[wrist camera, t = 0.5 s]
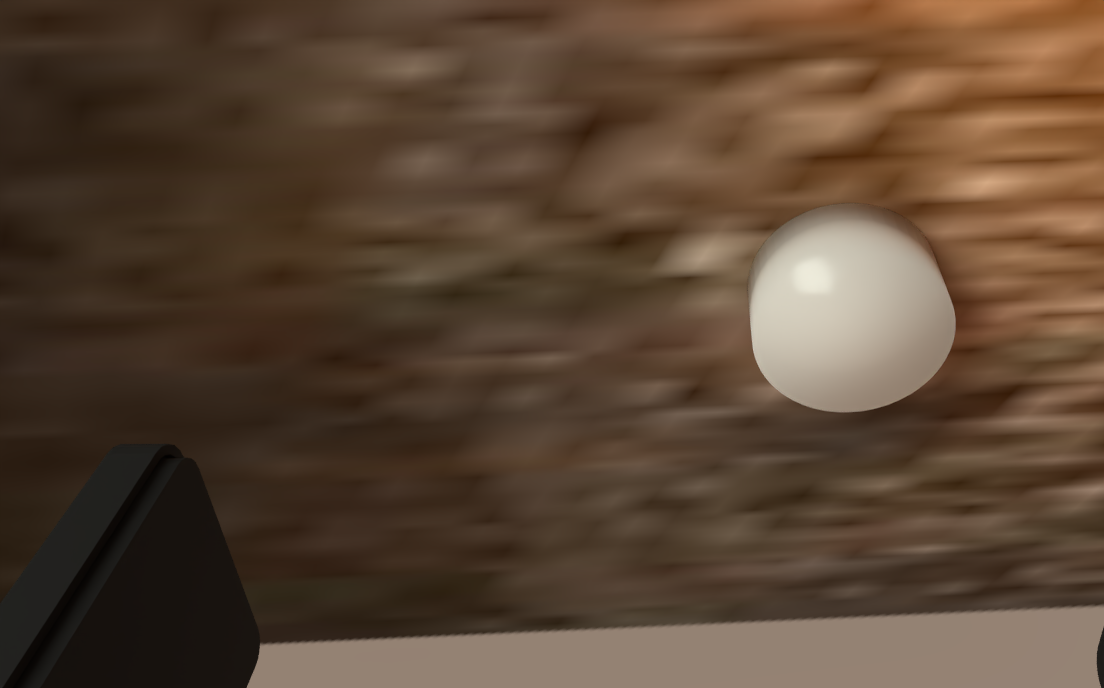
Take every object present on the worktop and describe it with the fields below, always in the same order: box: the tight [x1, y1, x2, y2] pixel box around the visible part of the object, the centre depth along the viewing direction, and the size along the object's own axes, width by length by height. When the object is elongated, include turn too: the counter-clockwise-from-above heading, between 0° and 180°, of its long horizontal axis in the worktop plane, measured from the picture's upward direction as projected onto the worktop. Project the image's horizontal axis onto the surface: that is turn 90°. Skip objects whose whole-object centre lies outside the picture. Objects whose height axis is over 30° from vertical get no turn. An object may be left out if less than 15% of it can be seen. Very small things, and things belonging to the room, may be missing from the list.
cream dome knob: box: [747, 203, 956, 412], centre depth 44 cm, size 8×8×4 cm
